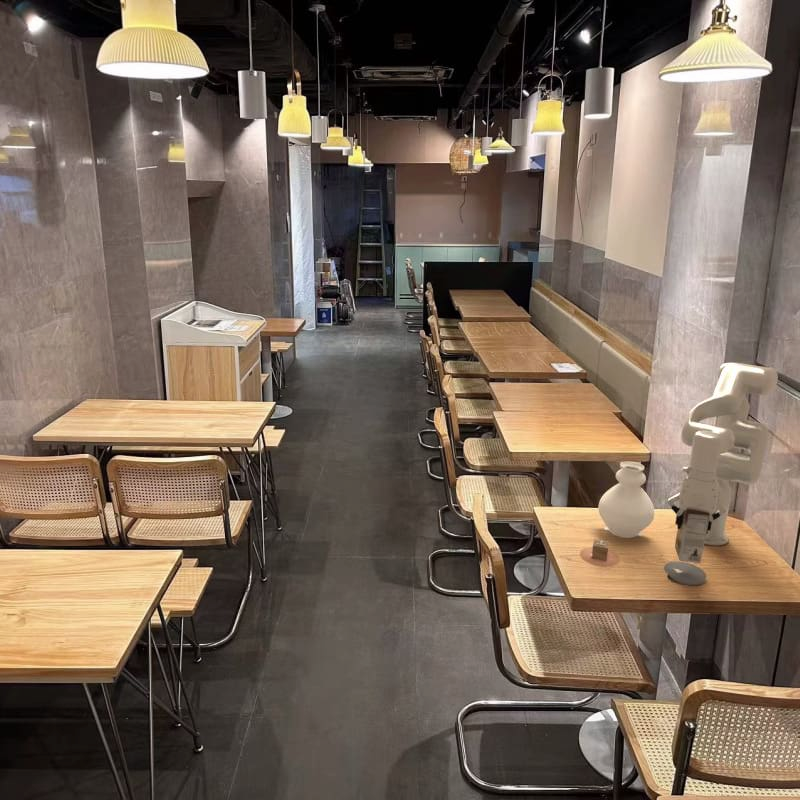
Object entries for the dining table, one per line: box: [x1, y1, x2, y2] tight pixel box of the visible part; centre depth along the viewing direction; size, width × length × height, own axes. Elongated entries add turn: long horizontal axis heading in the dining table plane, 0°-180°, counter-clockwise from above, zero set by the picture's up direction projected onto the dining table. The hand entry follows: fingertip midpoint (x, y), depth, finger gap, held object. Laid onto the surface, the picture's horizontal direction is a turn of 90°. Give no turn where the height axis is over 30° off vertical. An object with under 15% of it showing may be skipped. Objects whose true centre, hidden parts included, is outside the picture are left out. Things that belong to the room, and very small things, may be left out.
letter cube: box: [592, 538, 610, 561], centre depth 216 cm, size 4×4×5 cm
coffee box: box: [674, 509, 710, 564], centre depth 206 cm, size 9×6×16 cm
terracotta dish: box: [579, 546, 620, 567], centre depth 217 cm, size 12×12×1 cm
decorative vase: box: [597, 461, 655, 539], centre depth 231 cm, size 18×18×25 cm
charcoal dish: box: [663, 561, 707, 587], centre depth 210 cm, size 12×12×1 cm
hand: (692, 529), depth 206 cm, fingers closed on coffee box, 6 cm apart
